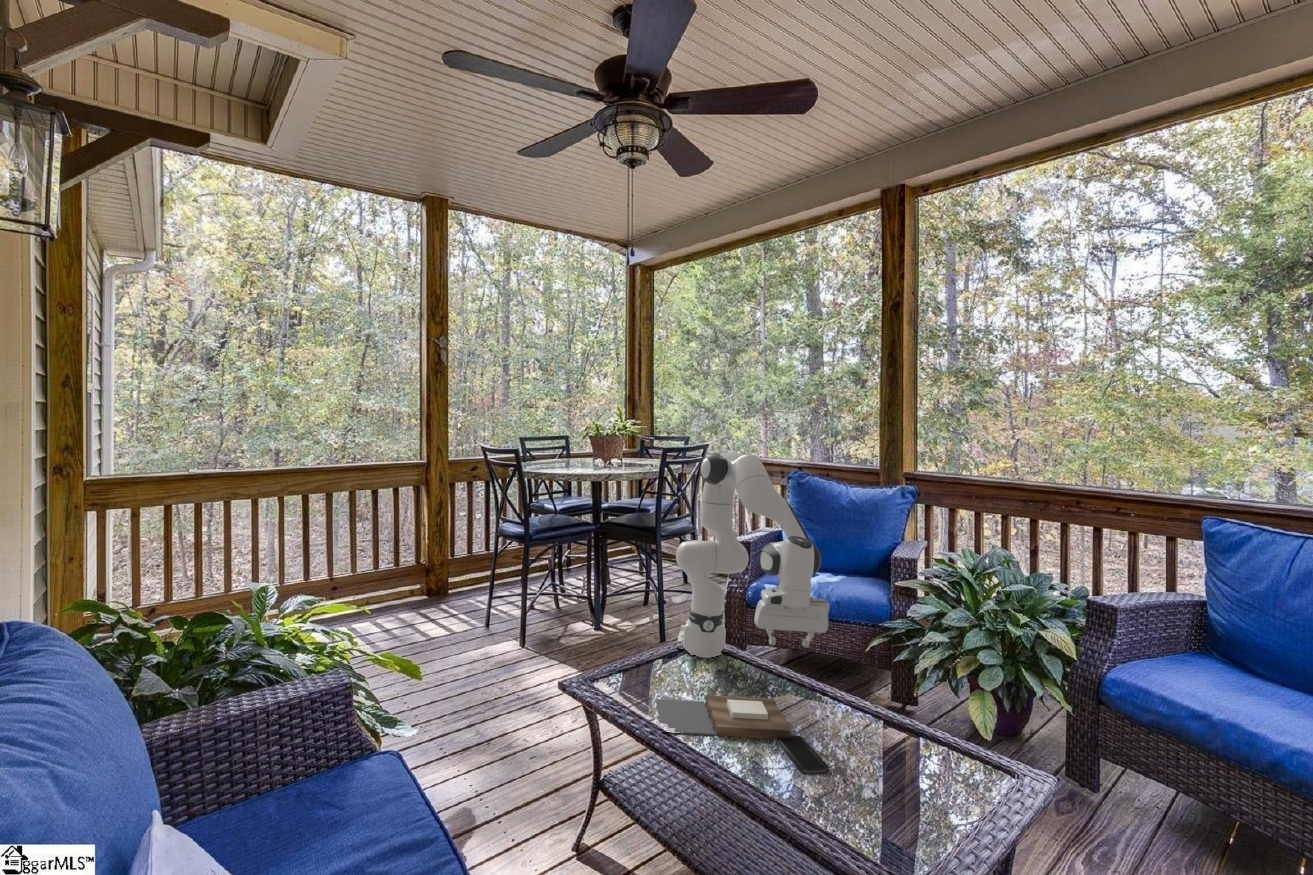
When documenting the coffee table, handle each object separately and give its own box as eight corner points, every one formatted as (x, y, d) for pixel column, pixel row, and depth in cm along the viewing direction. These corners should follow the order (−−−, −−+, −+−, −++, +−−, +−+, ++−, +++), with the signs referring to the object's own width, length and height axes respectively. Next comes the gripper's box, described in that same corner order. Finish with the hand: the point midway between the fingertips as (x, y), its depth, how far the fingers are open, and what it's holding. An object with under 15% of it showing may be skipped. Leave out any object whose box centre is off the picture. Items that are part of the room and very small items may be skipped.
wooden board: (705, 703, 176) (706, 695, 176) (772, 707, 178) (773, 698, 178) (715, 735, 159) (716, 726, 159) (789, 739, 161) (790, 730, 161)
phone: (802, 771, 146) (774, 737, 160) (802, 776, 146) (774, 741, 160) (831, 769, 148) (801, 735, 162) (831, 773, 148) (801, 739, 163)
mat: (656, 700, 175) (656, 698, 175) (703, 703, 176) (704, 701, 176) (661, 732, 158) (661, 731, 158) (714, 735, 159) (714, 733, 159)
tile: (726, 704, 172) (727, 699, 172) (761, 706, 172) (761, 701, 172) (731, 717, 165) (732, 712, 165) (767, 719, 166) (768, 714, 165)
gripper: (826, 595, 172) (821, 643, 172) (755, 590, 170) (750, 638, 171) (834, 602, 165) (829, 652, 166) (761, 597, 164) (756, 647, 164)
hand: (788, 645), depth 168 cm, fingers open, 8 cm apart
